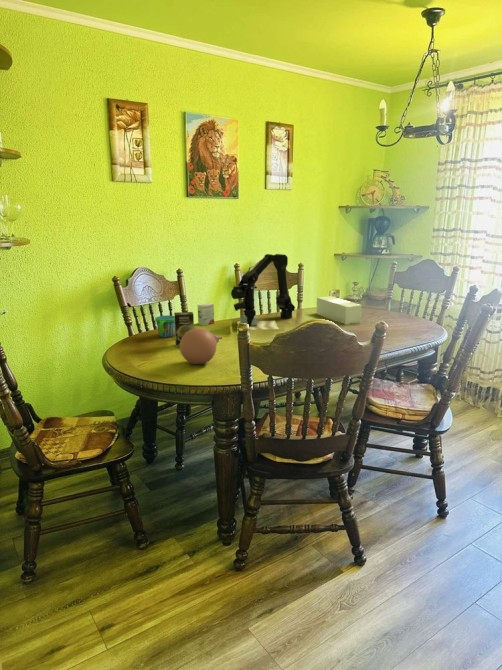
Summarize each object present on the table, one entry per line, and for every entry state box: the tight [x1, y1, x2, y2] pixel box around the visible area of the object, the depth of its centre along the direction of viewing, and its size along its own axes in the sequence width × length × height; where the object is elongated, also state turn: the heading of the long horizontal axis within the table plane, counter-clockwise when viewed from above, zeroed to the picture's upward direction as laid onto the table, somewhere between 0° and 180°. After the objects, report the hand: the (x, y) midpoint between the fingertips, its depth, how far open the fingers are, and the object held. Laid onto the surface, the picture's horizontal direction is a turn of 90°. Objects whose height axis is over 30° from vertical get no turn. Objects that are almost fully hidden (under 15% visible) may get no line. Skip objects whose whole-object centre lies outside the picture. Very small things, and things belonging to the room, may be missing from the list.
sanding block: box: [239, 315, 258, 326], centre depth 250 cm, size 9×6×4 cm, turn 94°
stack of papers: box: [315, 295, 363, 325], centre depth 272 cm, size 32×11×11 cm, turn 23°
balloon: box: [179, 327, 223, 365], centre depth 191 cm, size 15×20×15 cm
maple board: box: [236, 320, 280, 331], centre depth 251 cm, size 22×20×2 cm
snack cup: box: [154, 314, 175, 339], centre depth 234 cm, size 16×10×10 cm
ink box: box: [197, 302, 215, 327], centre depth 259 cm, size 9×5×12 cm, turn 129°
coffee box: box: [173, 311, 195, 348], centre depth 216 cm, size 9×6×16 cm
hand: (248, 324), depth 251 cm, fingers closed on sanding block, 5 cm apart
